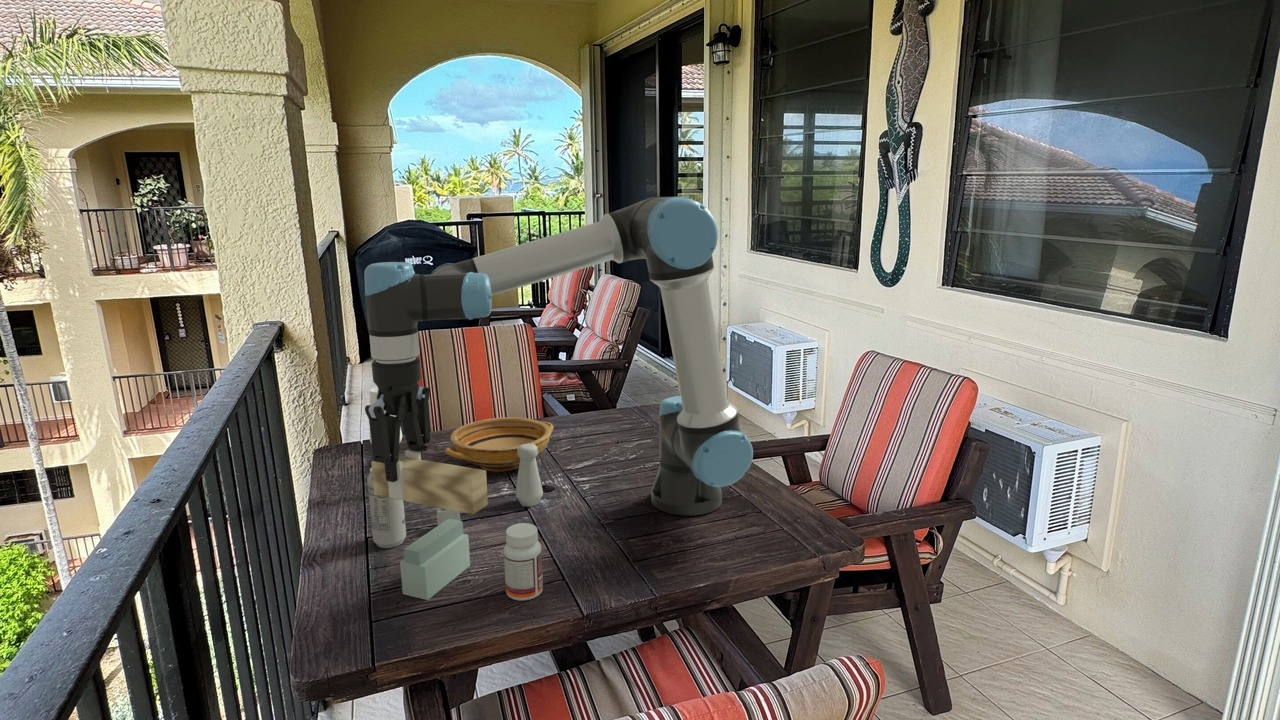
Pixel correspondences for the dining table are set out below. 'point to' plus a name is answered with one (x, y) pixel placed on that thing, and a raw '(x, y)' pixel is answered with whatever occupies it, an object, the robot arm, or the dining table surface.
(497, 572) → the dining table surface
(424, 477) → the oak bar
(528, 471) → the salt shaker
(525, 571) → the pill bottle
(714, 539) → the dining table surface
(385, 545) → the energy drink can
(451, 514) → the lighter
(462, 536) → the ridge block
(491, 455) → the ceramic bowl
